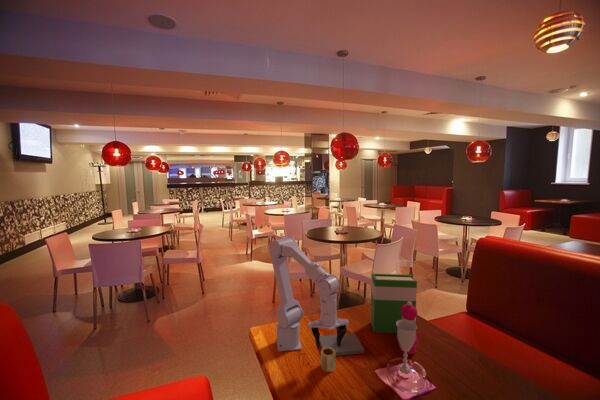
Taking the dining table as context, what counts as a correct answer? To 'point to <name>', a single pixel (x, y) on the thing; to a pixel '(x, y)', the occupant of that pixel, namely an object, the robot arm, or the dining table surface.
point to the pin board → (342, 344)
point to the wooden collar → (328, 359)
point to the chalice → (406, 340)
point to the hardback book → (390, 300)
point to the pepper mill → (410, 314)
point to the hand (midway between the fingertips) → (328, 346)
